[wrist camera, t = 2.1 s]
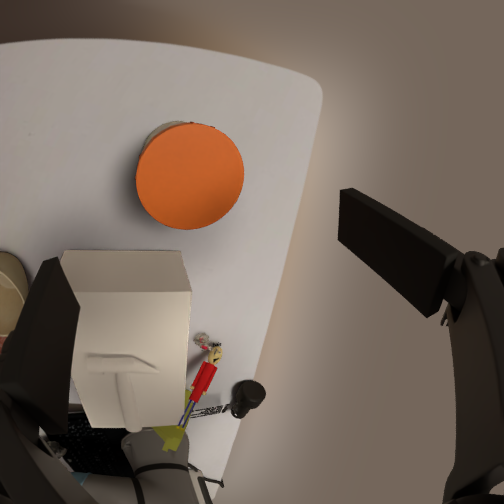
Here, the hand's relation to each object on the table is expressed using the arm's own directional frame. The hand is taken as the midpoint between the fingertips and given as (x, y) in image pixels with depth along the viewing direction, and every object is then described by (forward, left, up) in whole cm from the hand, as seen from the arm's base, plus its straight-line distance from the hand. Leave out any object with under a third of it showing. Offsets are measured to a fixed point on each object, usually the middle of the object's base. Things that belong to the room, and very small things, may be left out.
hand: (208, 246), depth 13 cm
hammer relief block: (-21, +11, -22) cm, 32 cm away
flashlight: (-48, +2, -21) cm, 53 cm away
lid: (0, -1, -11) cm, 11 cm away
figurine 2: (-36, +9, -13) cm, 40 cm away
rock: (-54, +42, -16) cm, 70 cm away
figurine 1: (-27, 0, -22) cm, 34 cm away
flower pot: (-8, +24, -22) cm, 33 cm away
